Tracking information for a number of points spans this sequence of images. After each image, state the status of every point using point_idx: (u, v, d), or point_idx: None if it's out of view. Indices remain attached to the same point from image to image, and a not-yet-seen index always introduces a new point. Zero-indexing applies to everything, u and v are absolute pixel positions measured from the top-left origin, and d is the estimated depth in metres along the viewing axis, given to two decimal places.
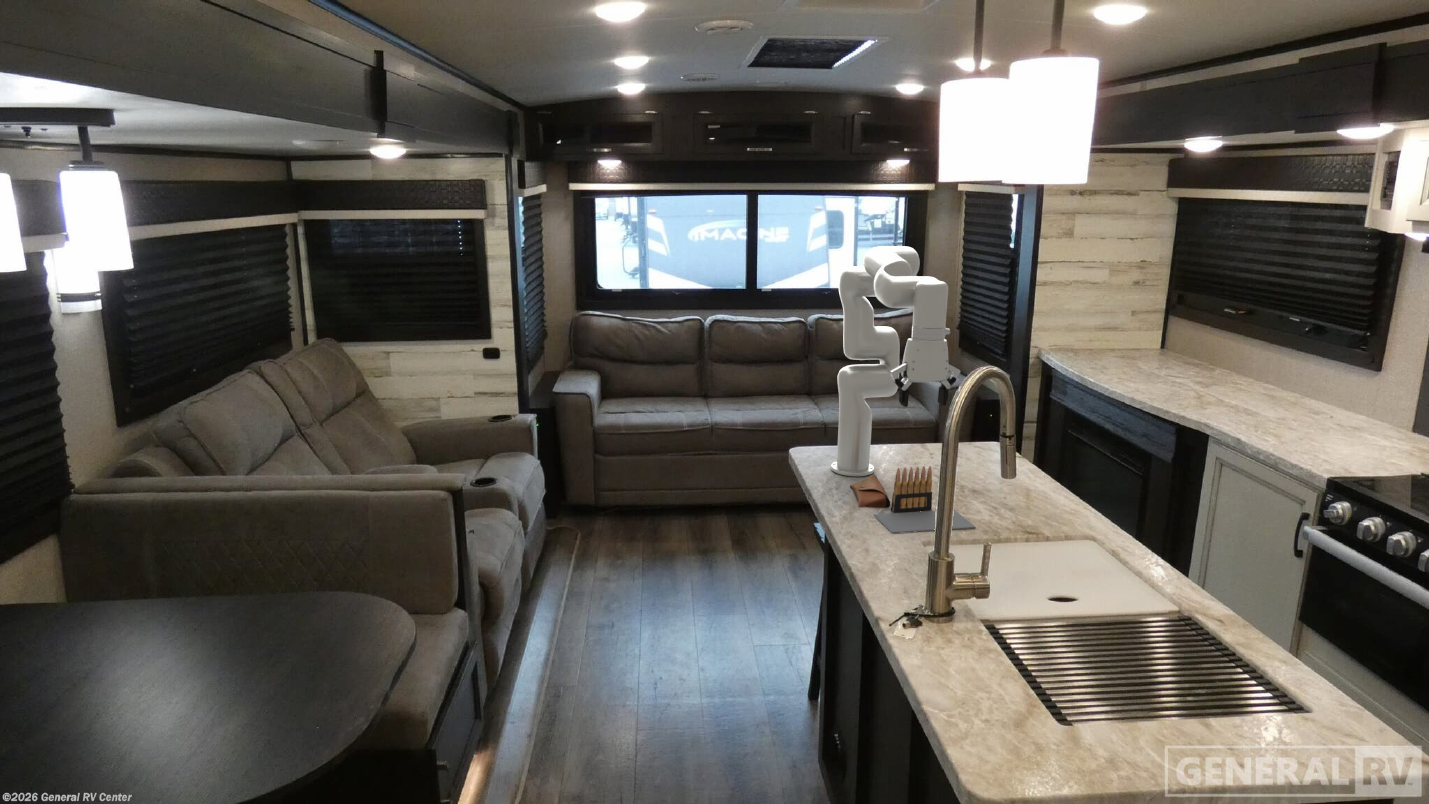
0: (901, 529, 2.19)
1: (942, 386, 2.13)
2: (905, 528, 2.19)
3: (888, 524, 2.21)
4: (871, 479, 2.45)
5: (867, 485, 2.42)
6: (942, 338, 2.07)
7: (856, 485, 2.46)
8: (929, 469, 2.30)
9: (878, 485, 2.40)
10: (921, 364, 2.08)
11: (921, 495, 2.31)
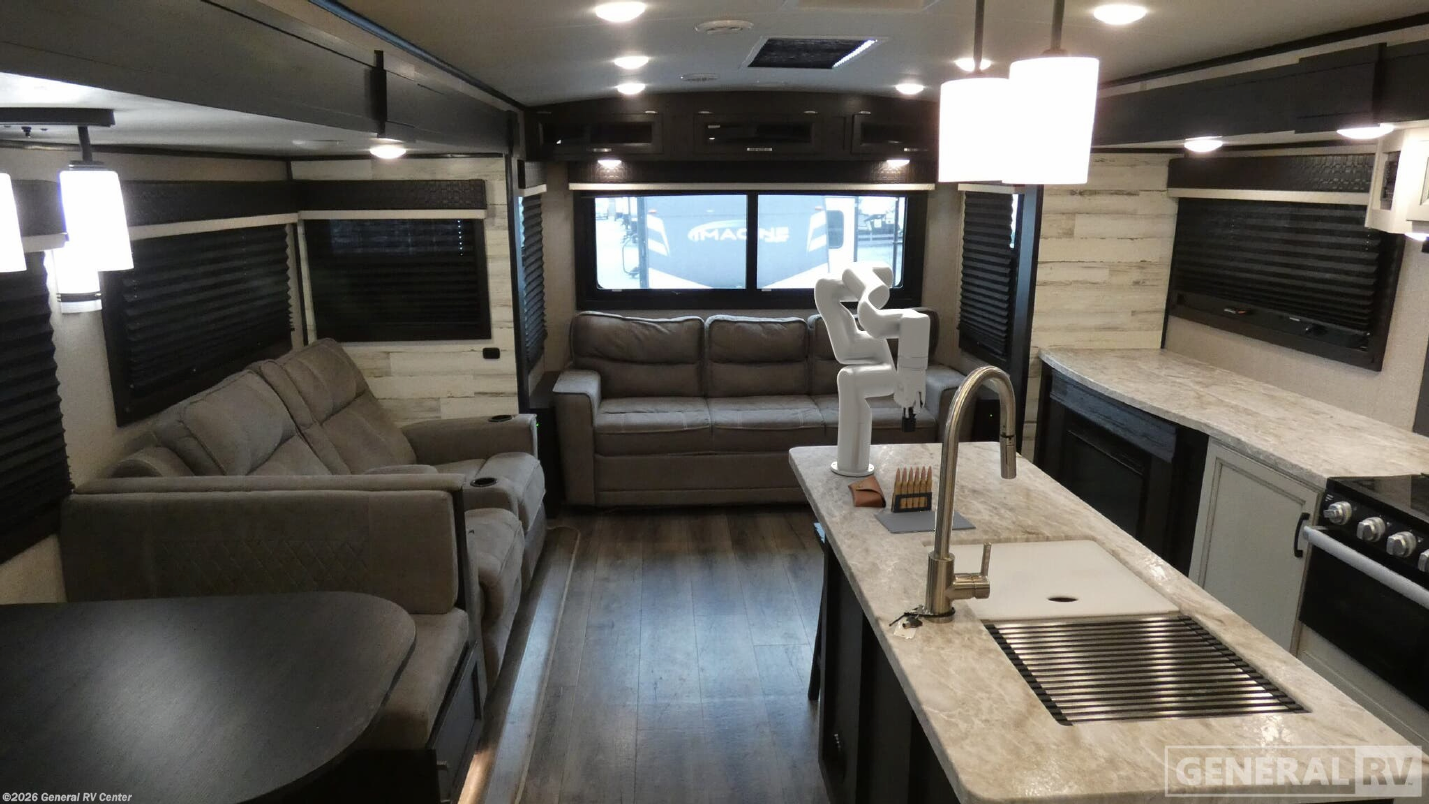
0: (901, 529, 2.19)
1: None
2: (905, 528, 2.19)
3: (888, 524, 2.21)
4: (869, 479, 2.45)
5: (864, 485, 2.42)
6: None
7: (854, 485, 2.46)
8: (929, 469, 2.30)
9: (875, 485, 2.40)
10: None
11: (921, 495, 2.31)
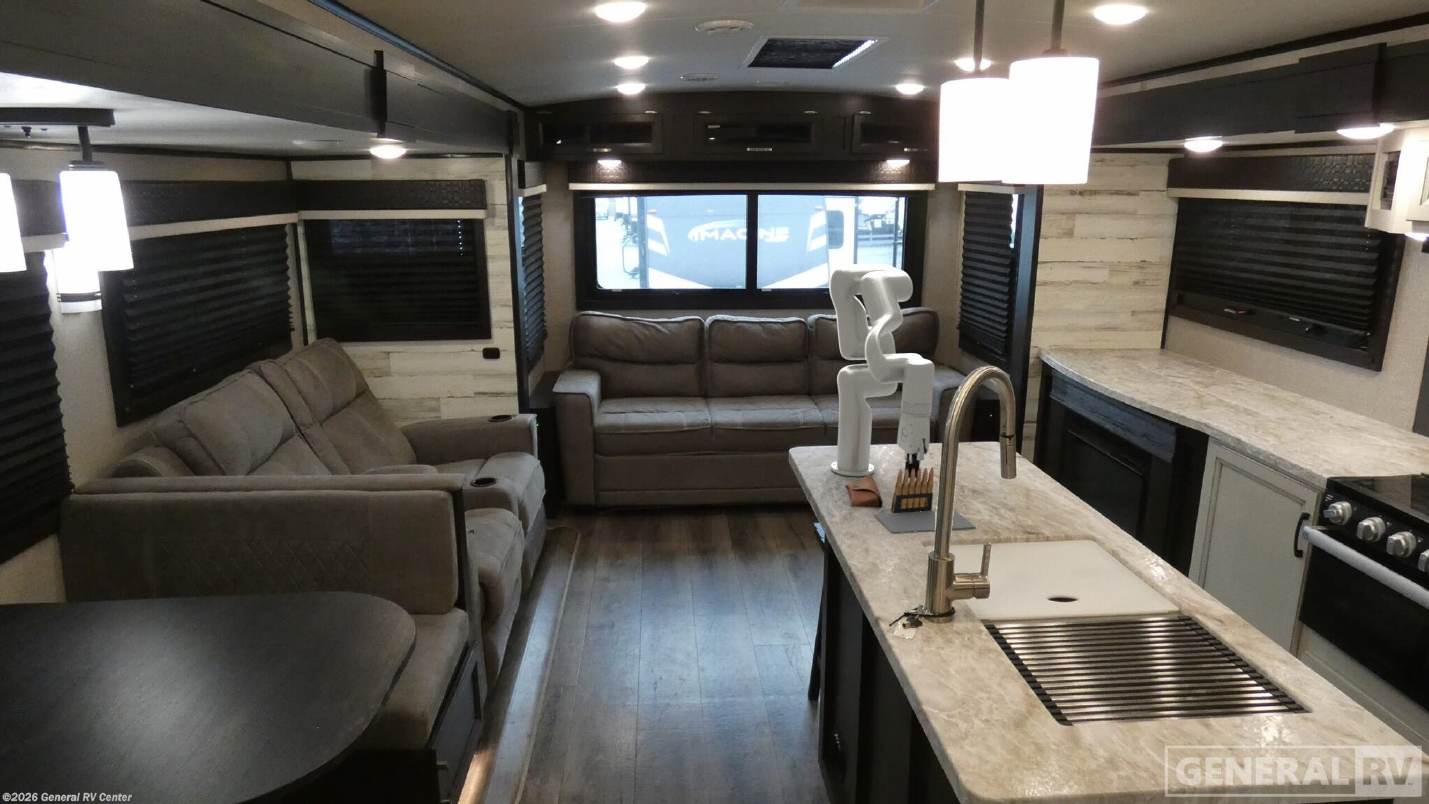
0: (901, 529, 2.19)
1: None
2: (905, 528, 2.19)
3: (888, 524, 2.21)
4: (866, 479, 2.45)
5: (861, 485, 2.42)
6: None
7: (851, 485, 2.46)
8: (931, 470, 2.29)
9: (872, 485, 2.40)
10: None
11: (922, 496, 2.30)
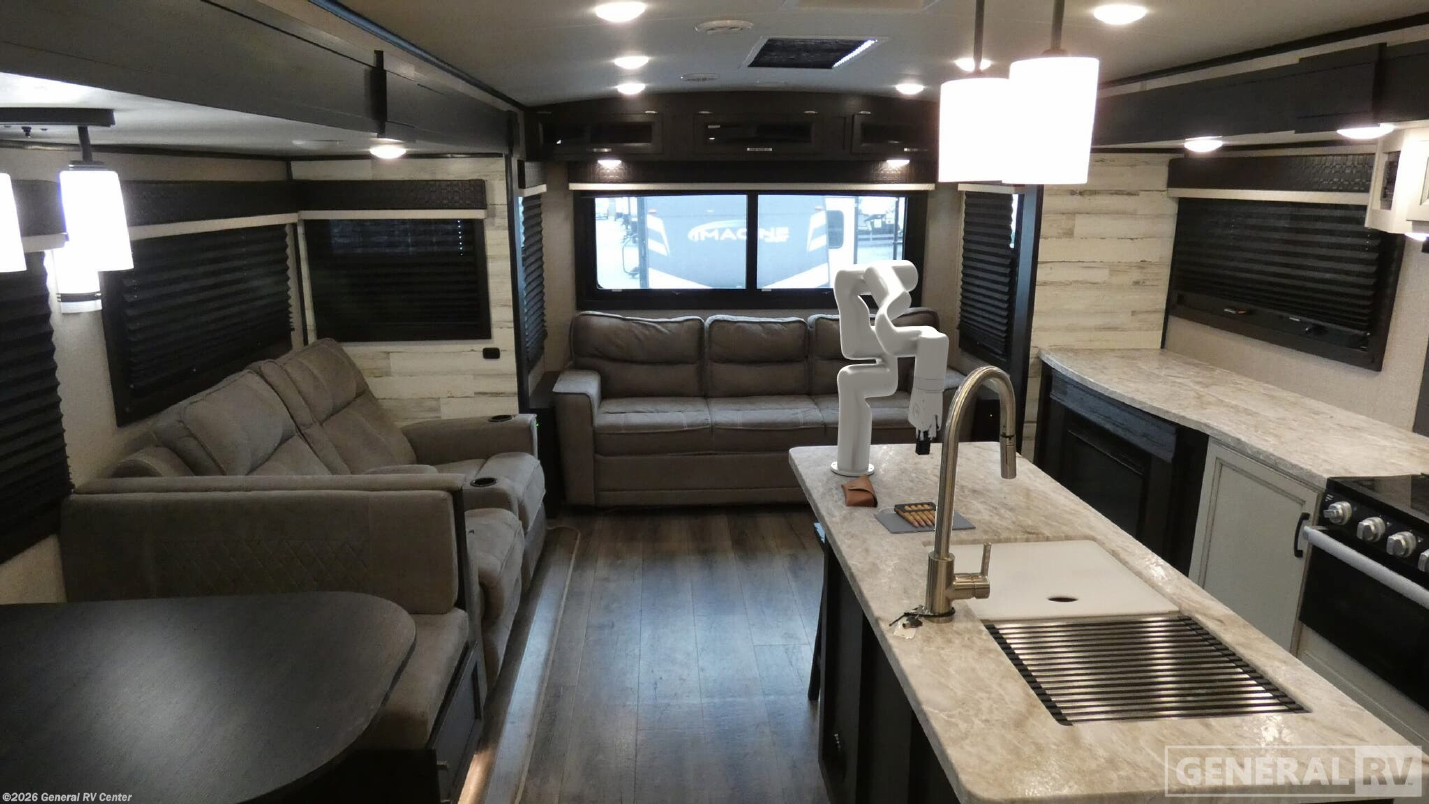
0: (901, 529, 2.19)
1: None
2: (905, 528, 2.19)
3: (888, 524, 2.21)
4: (861, 479, 2.45)
5: (857, 484, 2.42)
6: None
7: (846, 484, 2.46)
8: None
9: (867, 485, 2.41)
10: None
11: None
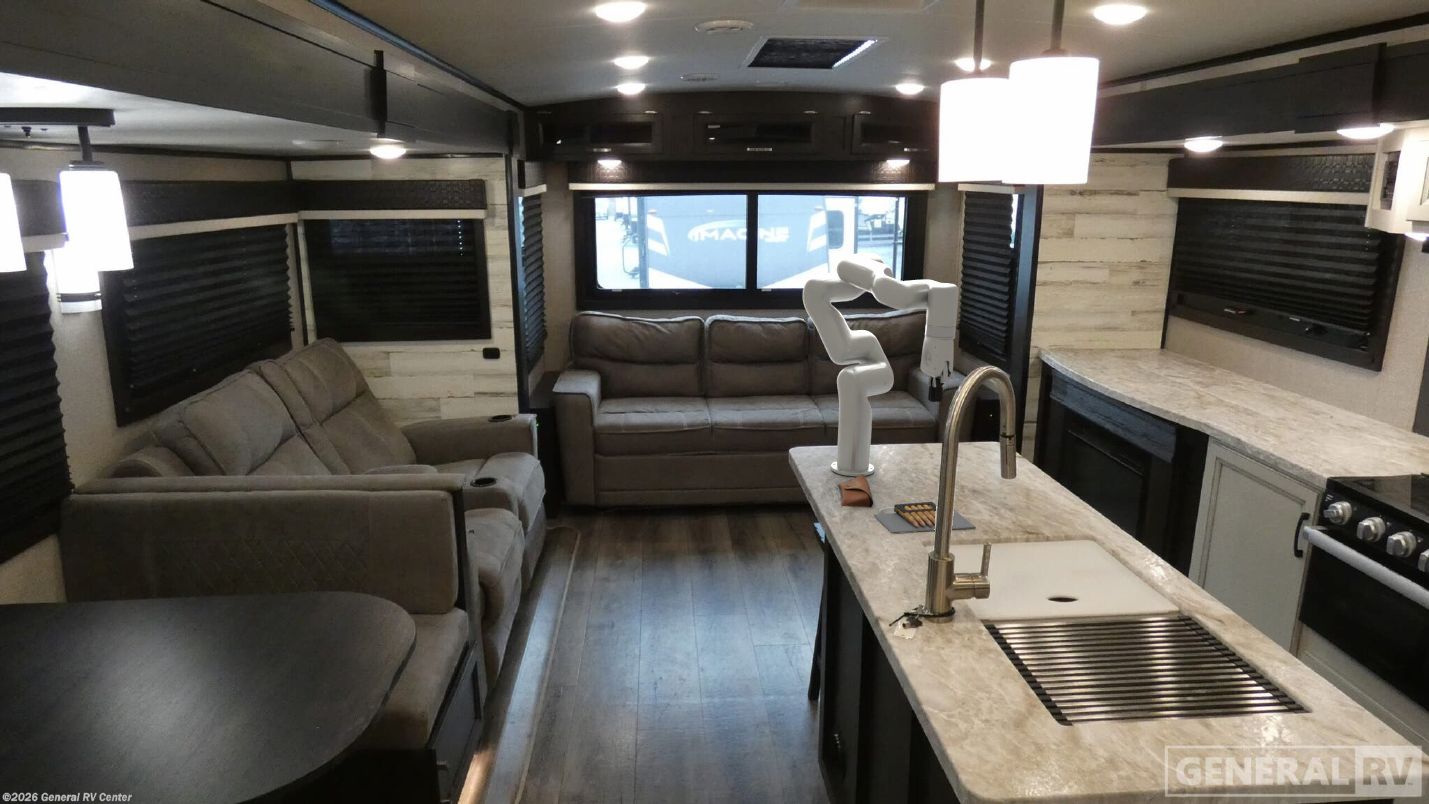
0: (901, 529, 2.19)
1: None
2: (905, 528, 2.19)
3: (888, 524, 2.21)
4: (858, 478, 2.45)
5: (853, 484, 2.42)
6: None
7: (843, 484, 2.47)
8: None
9: (863, 484, 2.41)
10: None
11: None
